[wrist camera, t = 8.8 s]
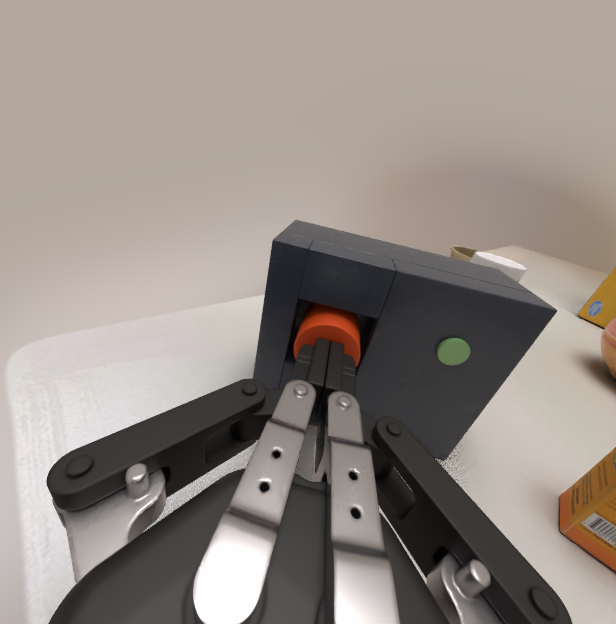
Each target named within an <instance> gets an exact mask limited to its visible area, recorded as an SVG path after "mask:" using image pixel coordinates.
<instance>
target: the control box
mask: <svg viewBox="0 0 616 624" xmlns="http://www.w3.org/2000/svg"><path fill="white" fill-rule="evenodd" d="M314 303H318V304H322V305H326V306H330V307H334V308H338V309H342V310H346V311H350V312H354V313H356V314H357V316H358V319H359V330H360V360H359V362H358V364H357V366H356V399H357V401H358V402H359V405H360V408H361V409H362V410H363V411H364V412H365V413H366V414H368V415H369V416H371V417H373V418H375V419H377V420H378V419H379V418H381V417H384V416H389V417H393V418H395V419H397V420H399V421H400V422H402V423H403V424H404V425H405V426H406V427H407V428H408V430H409V431H410V432H411V433H412V434H413V435H414V436H415V437H416V438H417V439H418V441H419V442H420V443H421V444H422V445H423V446H424V447H425V448H426V449H427V451H428V452H429V453H430V454H431V455H432V456H433V457H436V458H440V459H443V460H446V459H447V457H448V456H449V455H450V453H451V452H452V451H453V449H454V448H455V447H456V445H457V444H458V443H459V441H460V440H461V439H462V437H463V436H464V435H465V433H466V432H467V431H468V429H469V428H470V427H471V425H472V424H473V423H474V421H475V420H476V419H477V417H478V416H479V415H480V413H481V412H482V411H483V409H484V408H485V407H486V405H487V404H488V403H489V401H490V400H491V399H492V397H493V396H494V395H495V393H496V392H497V391H498V389H499V388H500V387H501V385H502V384H503V383H504V381H505V380H506V379H507V377H508V376H509V375H510V373H511V372H512V371H513V369H514V368H515V367H516V365H517V364H518V363H519V361H520V360H521V359H522V357H523V356H524V355H525V353H526V352H527V351H528V349H529V348H530V347H531V345H532V344H533V343H534V341H535V340H536V339H537V337H538V336H539V335H540V333H541V332H542V331H543V329H544V328H545V327H546V325H547V324H548V323H549V321H550V320H551V319H552V317H553V316H554V315H555V314H556V312H557V310H556V309H555V308H553V307H552V306H551V305H549V304H548V303H546V302H545V301H543V300H542V299H540V298H539V297H538V296H536V295H535V294H533V293H532V292H531V291H529V290H528V289H526V288H525V287H523V286H522V285H520V284H519V283H518V282H516V281H515V280H513V279H512V278H510V277H509V276H507V275H506V274H505V273H503V272H502V271H500V270H499V269H495V268H491V267H487V266H483V265H479V264H474V263H470V262H466V261H462V260H458V259H454V258H450V257H446V256H442V255H437V254H433V253H429V252H425V251H421V250H417V249H413V248H409V247H405V246H401V245H397V244H393V243H389V242H385V241H381V240H376V239H372V238H368V237H364V236H360V235H356V234H352V233H348V232H344V231H340V230H335V229H331V228H327V227H323V226H319V225H315V224H311V223H307V222H302V221H299V220H295V221H294V222H293V223H292V224H291V225H289V226H288V227H287V228H286V229H285V230H284V231H283V232H281V233H280V234H279V235H278V236H277V237H276V238H274V239H273V242H272V249H271V256H270V263H269V270H268V277H267V284H266V291H265V298H264V305H263V312H262V319H261V326H260V333H259V340H258V347H257V354H256V361H255V368H254V375H253V379H255V380H258V381H260V382H261V383H263V384H264V386H265V387H266V389H279V388H282V387H284V386H286V384H287V383H288V382H289V381H290V378H291V374H292V371H293V368H294V365H295V362H296V359H295V356H294V343H295V340H296V337H297V334H298V331H299V328H300V325H301V322H302V319H303V316H304V314H305V312H306V310H307V309H308V308H309V307H310V306H311V305H312V304H314ZM314 416H315V414H314ZM313 422H314V418H313V421H312V423H311V422H309V424H312V425H316V426H318V424H314V423H313Z"/></svg>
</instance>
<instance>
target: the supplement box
mask: <svg viewBox="0 0 616 624" xmlns="http://www.w3.org/2000/svg"><path fill="white" fill-rule="evenodd" d="M560 531H561V532H562V533H563V534H564V535H565V536H567V537H568V538H569V539H571V540H572V541H573V542H575V543H576V544H577V545H579V546H580V547H582V548H583V549H584V550H586V551H587V552H588V553H590V554H591V555H593V556H594V557H596V558H597V559H598V560H600V561H601V562H603V563H604V564H606V565H607V566H608V567H610V568H611V569H613V570H614V571H616V447H615V448H614V449H613V450H612V451H611V452H610V453H609V454H608V455H606V456H605V457H604V458H603V459H602V460H601V461H600V462H599V463H597V464H596V465H595V466H594V467H593V468H592V469H591V470H590V471H589V472H587V473H586V474H585V475H584V476H583V477H582V478H580V479H579V480H578V481H577V482H576V483H575V484H574V485H572V486H571V487H570V488H569V489H568V490H567V491H565V492H564V493H563V494H561V495H560Z"/></svg>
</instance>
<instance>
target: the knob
mask: <svg viewBox="0 0 616 624" xmlns="http://www.w3.org/2000/svg"><path fill="white" fill-rule="evenodd" d="M317 337H319V338H323V339H326V340H330V342H331V341H334V342H338V343H342V344H344V354H347V355H351V356H352V357H353V359H354V361H355V363H356V366H357V364H358V362H359V360H360V330H359V319H358V316H357V314H356V313H354V312H350V311H346V310H342V309H338V308H334V307H330V306H326V305H322V304H318V303H314V304H312V305H311V306H310V307H309V308H308V309H307V310H306V312H305V314H304V316H303V319H302V322H301V325H300V328H299V331H298V334H297V337H296V340H295V343H294V356H295V359H297V355H298V352H299V349H300V348H301V347H302V346H303V345H304V344H309V345H313V346H315V343H316V339H317Z"/></svg>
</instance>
